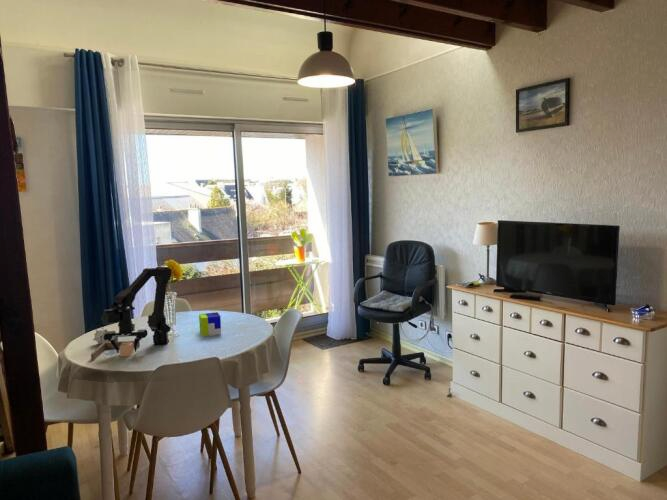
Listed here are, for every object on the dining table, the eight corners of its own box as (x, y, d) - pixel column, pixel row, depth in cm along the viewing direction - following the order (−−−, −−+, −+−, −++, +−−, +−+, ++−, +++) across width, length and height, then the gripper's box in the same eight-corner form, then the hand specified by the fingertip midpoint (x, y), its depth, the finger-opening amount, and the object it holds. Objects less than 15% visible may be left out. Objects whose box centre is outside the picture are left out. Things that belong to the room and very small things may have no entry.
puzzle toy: (221, 334, 270) (220, 316, 269) (202, 336, 267) (201, 318, 265) (218, 329, 279) (217, 312, 278) (200, 331, 276) (199, 314, 275)
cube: (133, 352, 241) (133, 342, 241) (131, 355, 236) (130, 345, 236) (123, 353, 241) (122, 343, 240) (120, 356, 236) (119, 346, 235)
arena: (139, 346, 251) (139, 340, 251) (130, 358, 233) (129, 351, 232) (103, 348, 248) (103, 342, 248) (91, 360, 230) (90, 354, 230)
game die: (100, 351, 254) (86, 339, 249) (102, 341, 262) (89, 329, 256) (115, 343, 254) (102, 330, 249) (117, 333, 262) (104, 320, 256)
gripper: (149, 315, 246) (150, 345, 248) (109, 317, 243) (111, 348, 245) (143, 320, 235) (145, 352, 237) (102, 322, 232) (104, 355, 234)
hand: (126, 352), depth 238 cm, fingers open, 8 cm apart
